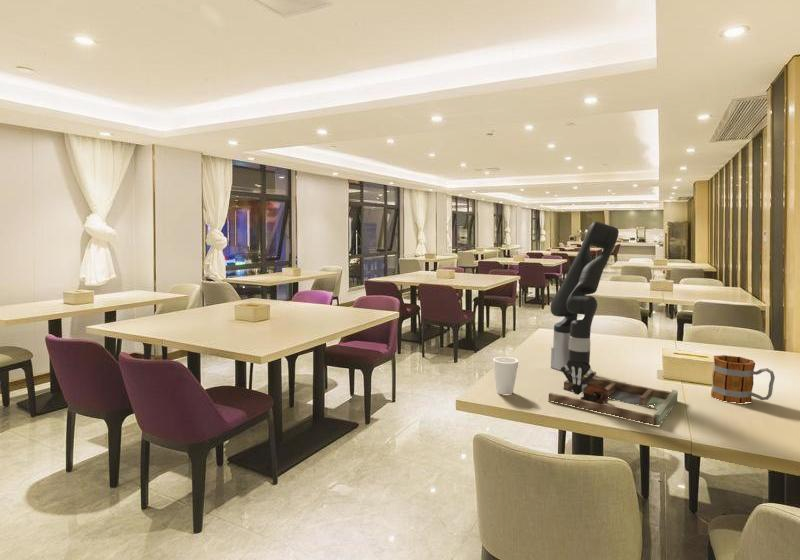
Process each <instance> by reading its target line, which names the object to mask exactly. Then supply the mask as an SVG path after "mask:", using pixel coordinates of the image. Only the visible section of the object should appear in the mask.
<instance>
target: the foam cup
mask: <svg viewBox="0 0 800 560" xmlns="http://www.w3.org/2000/svg"><path fill="white" fill-rule="evenodd" d="M492 366H493V371H494V381H495V390H496V394H498V393H500V394H512V393H513V394H514V390H515V384H516V379H517V371H518V368H519V360H518V359H517V358H515V357H509V356H497V357H494V358H493V365H492ZM500 394H499V395H500ZM513 394H512V395H513Z"/></svg>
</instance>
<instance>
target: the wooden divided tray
mask: <svg viewBox="0 0 800 560" xmlns="http://www.w3.org/2000/svg"><path fill="white" fill-rule="evenodd" d="M588 376H589V375H584V378H583V380H585V379H586V378H587V377H588ZM588 383H590V384H595V385H598V386H601V387H603V388H605V389H607V390H608V393H607V394H608V397H609V398H611V399H610V400H612V399H615V400H614V401H617V400H620V401H619V402H622V401H624V402H623V403H626V402H629V403H628V404H631V403H634V404H633V405H636V404H639V405H638V406H640V405H644V406H643V407H645V406H649V405H653V406H654V408H653V409H655V408H658V409H656V411H655V413H653V414H649V413H644V412H640V411H635V410H630V409H626V408H621V407H617V406H614V405H613V406H612V405H608V404H604V403H603V404H600V403H595V402H591V401H586V400H582V399H581V398H577V397H572V396H567V395H563V394H560V393H559V394H558V393H554V392H549V393H548V400H549V401H554V402H558V403H563V404H567V405H572V406H575V407H579V408H584V409H588V410H593V411H597V412H601V413H606V414H611V415H615V416H619V417H623V418H626V419H631V420H635V421H640V422H643V423H649V424H653V425H660V424H661V422H662V421H663V419H664V418H665V417H666V418H667V416H668V415H669V414H670V412H671V411H670V410H672V409H673V408H674V406H675V405H674V404H677V402H678V390H677V389H672V390H671V391H667V390H663V389H662V390H661V389H656V388H652V387H647V386H641V385H636V384H631V383H627V382H620V381H615V380H611V379H605V378H600V377H599V378H598V377H595V376H594V377H593V378H592V379H591V380H590V381H588V382H587V383H586V384H585V385H584V384H583V385H582V392H583V393H582V394H584V390H583V389H584V388H585V387H586V386H588V385H587V384H588ZM563 389H564V390H566V389H568V390H567V391H570V390H573V383H572V382H569V381H568V379H566V380H565V381H564V382H563ZM594 395H595V393H594ZM654 404H655V405H654ZM650 407H651V406H649V407H648V408H650ZM672 407H673V408H672ZM671 408H672V409H671ZM669 411H670V412H669ZM668 413H669V414H668ZM667 414H668V415H667ZM666 415H667V416H666ZM666 418H665V419H666ZM665 419H664V420H665ZM663 422H664V421H663ZM663 422H662V423H663ZM661 425H662V424H661ZM661 425H660V426H661Z"/></svg>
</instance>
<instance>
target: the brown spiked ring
mask: <svg viewBox="0 0 800 560" xmlns="http://www.w3.org/2000/svg"><path fill="white" fill-rule="evenodd" d="M587 385H588V386H586V387H585V388H584V389H583V390H584V393H583V394H582V395H583V396H582V397H580V399H582V400H586V401H591V402H595V403H600V404H604V403H605V402H606V403H605V404H607V403H608V401H609V399H608V394H607V393H608V390H607V389H605V388H603V387H601V386H598V385H595V384H590V383H588V384H587ZM594 393H595V395H594Z"/></svg>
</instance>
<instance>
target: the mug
mask: <svg viewBox="0 0 800 560" xmlns="http://www.w3.org/2000/svg"><path fill="white" fill-rule="evenodd" d="M713 362H714V363H713V371H712V377H711V378H712V384H711V385H712V387H711V392H710V395H711V398H712V397H713V398H712V399H715V398H716V399H715V400H717V399H719V400H718V401H720V400H722V401H721V402H723V401H727V402H736V403H745V402H753V401H752V397H753V398H756V399H758V400H761V401H766V400H769V399H770V398H771V397H772V395H773V391H774V390H773V389H774V383H775V378H776V377H775V373H774V371H773V370H771V369H769V368H760V369H758V370H757V371H755V366H756V362H755V361H754V360H753V359H749V358H745V357H741V356H735V355H726V354H721V355H713ZM763 372H767V373H768V374H770V379H769V384H768V391H767V394H766V396H761V395H759V394H757V393H754V392H753V387H754V375H756V376H758V375H760V374H762V373H763ZM727 402H726V403H727Z"/></svg>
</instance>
